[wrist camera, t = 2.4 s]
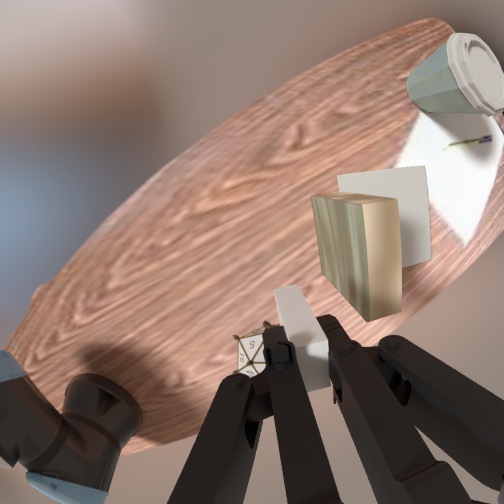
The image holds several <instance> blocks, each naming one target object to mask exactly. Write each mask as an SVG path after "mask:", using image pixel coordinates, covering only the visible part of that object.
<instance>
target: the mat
mask: <svg viewBox="0 0 504 504" xmlns="http://www.w3.org/2000/svg"><path fill="white" fill-rule="evenodd" d="M337 181H338V187H339V191H340V192H349V193H358V194H366V195H374V196H382V197H389V198H396V199H398V209H399V220H400V234H401V255H402V268H405V267H408V266H411V265H415V264H418V263H422V262H425V261H428V260H431V234H430V214H429V201H428V190H427V181H426V173H425V166H412V167H401V168H391V169H382V170H373V171H365V172H357V173H350V174H342V175H337Z"/></svg>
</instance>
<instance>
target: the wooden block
mask: <svg viewBox="0 0 504 504" xmlns="http://www.w3.org/2000/svg"><path fill="white" fill-rule="evenodd" d="M311 201H312V208H313V214H314V220H315V227H316V234H317V241H318V248H319V256H320V263H321V272H322V274H323V275H324V276H325V277H326V278H327V279H328V280H329V281H330V282H331V283H332V284H333V285H334V287H335V288H336V289H337V290H338V291H339V292H340V293H341V294H342V295H343V296H344V298H345V299H346V300H347V301H348V302H349V303H350V304H351V305H352V306H353V308H354V309H355V310H356V311H357V312H358V313H359V314H360V315H361V317H362V318H363V319H364V320H365V321H366V322H370V321H373V320H377V319H380V318H383V317H386V316H389V315H392V314H395V313H398V312H401V304H402V255H401V234H400V220H399V209H398V199H396V198H389V197H382V196H374V195H366V194H358V193H349V192H340V191H336V192H330V193H324V194H318V195H312V196H311Z"/></svg>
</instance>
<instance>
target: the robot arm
mask: <svg viewBox="0 0 504 504" xmlns="http://www.w3.org/2000/svg"><path fill="white" fill-rule="evenodd" d="M274 294H275V300H276V305H277V311H278V316H279V322H280V326H278V327H273V328H268V329H265V330H264V332H263V334H262V339H263V345H264V348H263V355H264V360H265V364H266V366H265V368H264V370H263V371H262V372H260V373H259V374H257V375H255V376H253V377H249V376H248V375H246V374H241V373H237V374H232V375H229V376H227V377H226V378H224V379H223V380H222V382H221V383H220V385H219V388H218V390H217V392H216V395H215V397H214V399H213V402H212V404H211V406H210V409H209V411H208V413H207V416H206V418H205V420H204V422H203V425H202V427H201V429H200V432H199V434H198V436H197V438H196V441H195V443H194V445H193V447H192V450H191V452H190V454H189V457H188V459H187V461H186V463H185V465H184V468H183V470H182V472H181V474H180V477H179V478H178V481H177V483H176V485H175V487H174V489H173V492H172V494H171V496H170V498H169V500H168V502H167V504H243V501H244V497H245V494H246V490H247V486H248V482H249V478H250V474H251V470H252V466H253V462H254V458H255V454H256V450H257V446H258V442H259V437H260V433H261V428H262V424H263V419H266V418H268V417H270V416H273V415H274V420H275V427H276V433H277V439H278V446H279V452H280V459H281V465H282V471H283V477H284V484H285V490H286V496H287V502H288V504H344V503H343V502H341V499H340V497H339V493H338V490H337V487H336V484H335V480H334V477H333V474H332V471H331V467H330V464H329V461H328V458H327V455H326V451H325V448H324V445H323V441H322V439H321V435H320V432H319V429H318V425H317V422H316V419H315V416H314V413H313V410H312V407H311V403H310V401H309V397H308V394H307V392H310V391H314V390H318V389H322V388H325V387H329V386H331V384H330V379H331V381H332V384H333V401H334V404H336V400H337V403H338V405H339V407H340V410H341V412H342V415H343V417H344V420H345V422H346V425H347V427H348V429H349V432H350V434H351V437H352V439H353V441H354V444H355V447H356V449H357V452H358V454H359V457H360V459H361V462H362V464H363V467H364V469H365V472H366V474H367V477H368V479H369V482H370V484H371V487H372V490H373V492H374V495H375V497H376V500H377V502H378V504H489V503H484V502H480V501H474V500H471V499H470V497H469V495H468V494H467V492H466V490H465V489H464V487H463V485H462V484H461V482H460V480H459V479H458V477H457V475H456V474H455V472H454V470H453V469H452V467H451V466H450V465H449V464H448V463H447V462H445V461H437V460H436V459H435V458H434V457H433V455H432V453H431V452H430V450H429V448H428V447H427V445H426V444H425V442H424V441H423V439H422V437H421V435H420V434H419V433H418V431H417V429H416V428H415V426H416V427H417V428H418V429H419V430H420V431H421V432H423V433H424V434H425V435H426V436H427V437H428V438H429V439H430V440H432V441H433V442H434V443H435V444H436V445H437V446H438V447H440V448H441V449H442V450H443V451H444V452H445V453H447V454H448V455H449V456H450V457H451V458H452V459H453V460H455V461H456V462H457V463H458V464H459V465H460V466H462V467H463V468H464V469H465V470H466V471H467V472H469V473H470V474H471V475H472V476H473V477H474V478H476V479H477V480H478V481H480V482H481V483H482V484H484V485H485V486H487V487H489V488H491V489H493V490H497V491H500V494H499V496H498V503H499V504H504V400H502V399H501V398H499V397H498V396H496V395H494V394H493V393H491V392H490V391H488V390H487V389H485V388H483V387H482V386H480V385H479V384H477V383H476V382H474V381H472V380H471V379H469V378H467V377H466V376H465V375H463V374H461V373H460V372H458V371H457V370H455V369H453V368H452V367H450V366H448V365H447V364H445V363H444V362H442V361H441V360H439V359H437V358H436V357H434V356H433V355H431V354H429V353H428V352H426V351H425V350H423V349H421V348H420V347H418V346H417V345H415V344H413V343H412V342H410V341H409V340H407V339H405V338H404V337H401V336H399V335H389V336H386V337H383V338H382V339H381V340H380V341H379V343H378V346H374V347H362V346H361V345H360V344H359V343H358V342H357V341H354V340H351V339H350V338H349V336H348V335H347V333H346V332H345V330H344V329H343V327H342V326H341V324H340V323H339V321H338V320H337V319H336V317H334V316H332V315H330V314H327V315H323V316H319V317H315V315H314V313H313V312H312V310H311V308H310V306H309V304H308V303H307V301H306V299H305V297H304V295H303V294H302V292H301V290H300V288H299V286H298V285H297V284H296V285H291V286H286V287H281V288H277V289H274ZM27 374H28V373H27V372H26V371H24V370H23V368H22V367H21V366H20V365H19V363H18V362H17V361H16V359H15V358H14V357H13V355H12V354H11V353H9V352H8V351H5V350H0V468H5V469H12V468H13V467H14V466H15V464H16V463H17V461H18V462H20V463H21V464H22V465H23V466H24V467H25V468H26V469H27V470H28V472H26V480H27V481H28V482H29V483H30V484H31V485H32V486H33V487H34V488H36V489H37V490H39V491H40V492H42V493H43V494H45V495H47V496H49V497H50V498H52V499H54V500H56V501H58V502H60V503H62V504H104V502H105V499H106V497H107V496H108V491H109V488H110V484H111V481H112V478H113V474H114V471H115V468H116V464H117V461H118V459H119V456H120V453H121V450H122V448H123V447H124V446H125V445H126V444H127V443H128V441H129V440H130V438H131V437H133V436H134V435H135V434H136V433H137V432H138V430H139V428H140V425H141V422H142V412H141V409H140V407H139V406H138V404H137V402H136V401H135V400H134V399H133V398H132V396H131V395H130V394H129V393H127V392H126V391H125V390H124V389H123V388H121V387H120V386H118V385H117V384H115V383H114V382H112V381H110V380H108V379H106V378H103V377H101V376H97V375H93V374H79V375H77V376H75V377H74V378H73V379H72V380H71V381H70V383H69V384H68V386H67V388H66V391H65V400H64V404H63V408H62V413H61V414H60V413H59V412H58V411H57V410H56V409H55V408H54V406H53V405H52V404H51V403H50V402H49V401H48V400H47V398H46V397H45V396H44V395H43V394H42V393H41V391H40V390H39V389H38V388H37V386H36V385H35V384H34V383H33V381H32V380H31V379H30V378H29V376H28V375H27ZM414 425H415V426H414Z"/></svg>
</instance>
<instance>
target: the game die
mask: <svg viewBox="0 0 504 504" xmlns="http://www.w3.org/2000/svg"><path fill="white" fill-rule="evenodd" d="M266 325H267V323H266V322H265V321H264V322H263V326H264V327H262V328H260V329H258V330H256V331H254V332H251V333H249V334H247V335H245V336H243V337H241V338H239V337H238V336H237V335H233V337H234V339H236V340H238V370H237V371H236V370H235V371H233V374H237V373H241V374H246V375H248V376H249V377H253V376H255V375H257V374H259V373H260V372H262V371H263V370H264V368H265V366H266V364H265V360H264V355H263V348H264V345H263V339H262V334H263V332H264V330H265V329H268V328H271V327H270V326H269V327H266Z"/></svg>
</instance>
